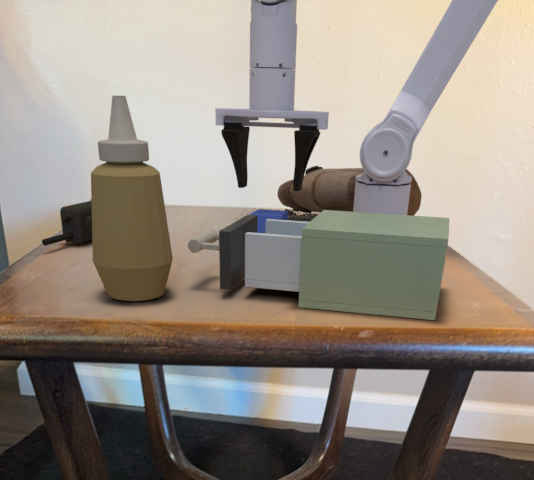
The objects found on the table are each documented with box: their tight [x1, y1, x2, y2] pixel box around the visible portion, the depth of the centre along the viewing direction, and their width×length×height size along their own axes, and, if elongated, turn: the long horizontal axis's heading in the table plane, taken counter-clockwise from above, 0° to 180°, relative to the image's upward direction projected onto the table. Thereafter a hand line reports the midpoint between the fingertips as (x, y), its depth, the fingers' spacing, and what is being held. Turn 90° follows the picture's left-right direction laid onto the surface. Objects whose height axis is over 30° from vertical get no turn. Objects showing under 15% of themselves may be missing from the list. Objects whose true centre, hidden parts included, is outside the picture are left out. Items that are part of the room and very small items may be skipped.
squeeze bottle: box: [90, 95, 174, 302], centre depth 61 cm, size 8×8×18 cm
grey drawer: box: [187, 214, 309, 293], centre depth 67 cm, size 17×10×6 cm, turn 76°
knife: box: [284, 208, 298, 215], centre depth 104 cm, size 15×1×2 cm
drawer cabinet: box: [298, 210, 450, 321], centre depth 65 cm, size 14×12×8 cm
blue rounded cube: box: [249, 208, 288, 233], centre depth 87 cm, size 4×4×4 cm
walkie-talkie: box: [41, 200, 92, 247], centre depth 86 cm, size 5×3×15 cm
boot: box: [277, 165, 422, 216], centre depth 106 cm, size 8×24×17 cm
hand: (269, 188), depth 85 cm, fingers open, 7 cm apart
